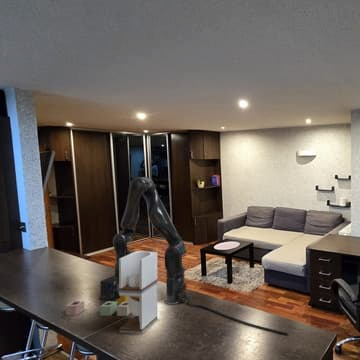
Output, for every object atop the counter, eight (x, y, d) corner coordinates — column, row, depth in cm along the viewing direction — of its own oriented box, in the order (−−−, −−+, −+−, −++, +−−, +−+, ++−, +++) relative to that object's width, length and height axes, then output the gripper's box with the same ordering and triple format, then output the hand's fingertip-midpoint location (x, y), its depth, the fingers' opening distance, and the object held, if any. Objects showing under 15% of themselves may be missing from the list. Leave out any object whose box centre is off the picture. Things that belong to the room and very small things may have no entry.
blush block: (84, 310, 144) (84, 300, 143) (76, 315, 139) (76, 305, 138) (74, 310, 144) (74, 300, 143) (66, 315, 139) (66, 305, 138)
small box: (108, 300, 154) (108, 282, 154) (99, 298, 156) (99, 281, 155) (125, 292, 165) (125, 275, 164) (116, 290, 166) (116, 274, 166)
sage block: (117, 310, 144) (117, 301, 144) (110, 315, 139) (110, 306, 139) (107, 310, 144) (107, 301, 144) (100, 315, 139) (100, 306, 139)
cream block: (133, 310, 145) (133, 301, 144) (127, 316, 140) (126, 306, 139) (123, 310, 144) (123, 301, 144) (117, 315, 139) (117, 306, 139)
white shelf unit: (136, 318, 137) (136, 251, 136) (157, 319, 137) (157, 251, 135) (119, 332, 126) (119, 258, 124) (141, 333, 126) (141, 259, 124)
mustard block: (131, 299, 156) (131, 290, 156) (125, 303, 151) (125, 295, 151) (122, 299, 156) (122, 290, 156) (116, 303, 151) (115, 294, 151)
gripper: (121, 272, 146) (120, 301, 146) (138, 262, 160) (137, 289, 161) (106, 271, 145) (106, 301, 146) (125, 262, 160) (124, 289, 160)
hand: (122, 295), depth 153 cm, fingers open, 8 cm apart
